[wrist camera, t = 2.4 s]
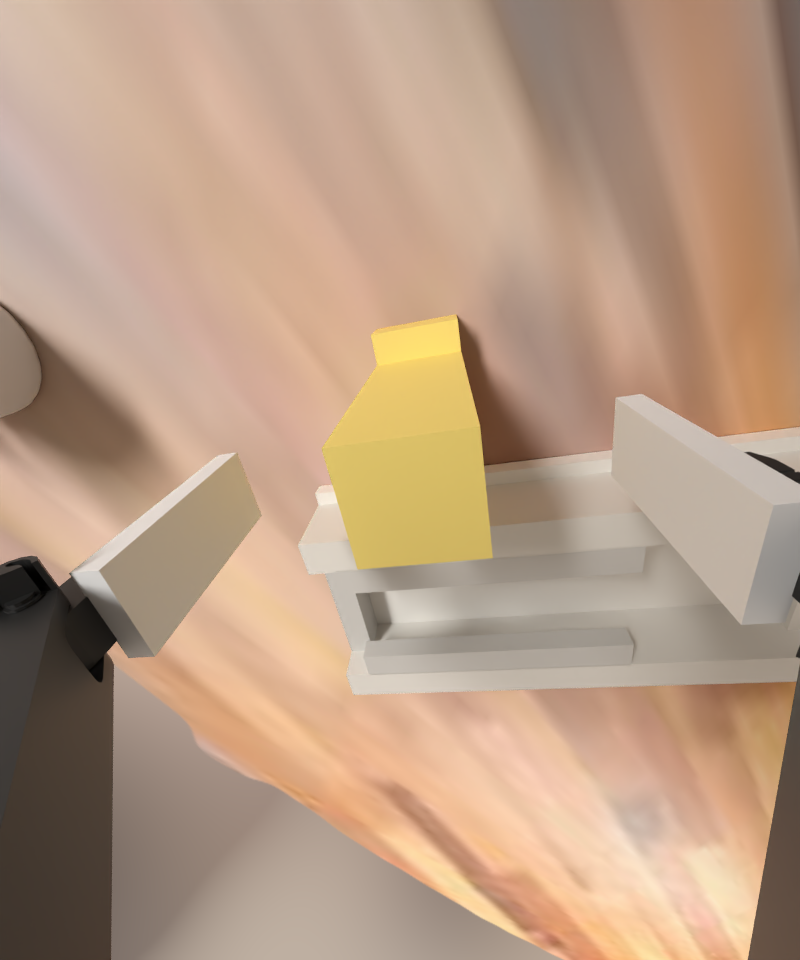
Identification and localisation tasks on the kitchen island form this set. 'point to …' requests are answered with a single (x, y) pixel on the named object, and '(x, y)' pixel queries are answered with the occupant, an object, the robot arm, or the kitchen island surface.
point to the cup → (16, 366)
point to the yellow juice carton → (412, 454)
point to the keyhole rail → (550, 594)
